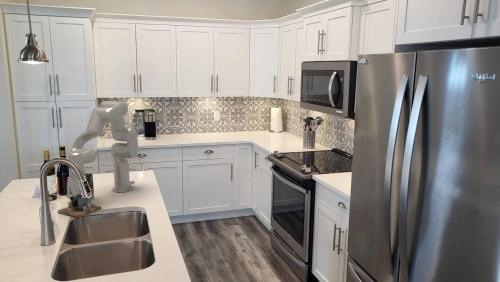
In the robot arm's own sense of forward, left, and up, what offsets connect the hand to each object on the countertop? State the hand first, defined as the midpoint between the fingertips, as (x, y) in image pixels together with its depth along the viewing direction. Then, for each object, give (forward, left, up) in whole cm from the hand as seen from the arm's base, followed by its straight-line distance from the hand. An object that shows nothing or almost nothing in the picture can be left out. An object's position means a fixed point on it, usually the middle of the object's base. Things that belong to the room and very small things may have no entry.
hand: (79, 205), depth 205 cm
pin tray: (0, 0, -3) cm, 3 cm away
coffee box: (-13, -11, -4) cm, 17 cm away
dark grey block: (0, 0, -1) cm, 1 cm away
